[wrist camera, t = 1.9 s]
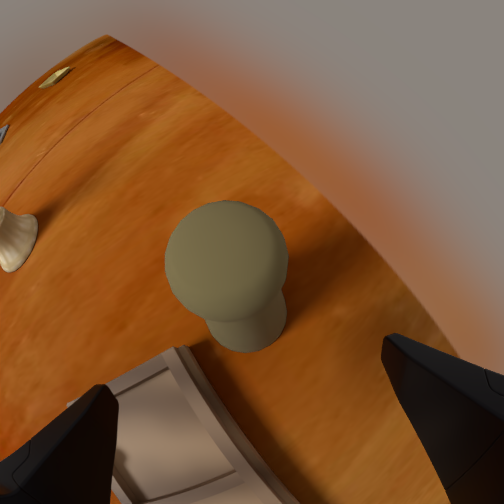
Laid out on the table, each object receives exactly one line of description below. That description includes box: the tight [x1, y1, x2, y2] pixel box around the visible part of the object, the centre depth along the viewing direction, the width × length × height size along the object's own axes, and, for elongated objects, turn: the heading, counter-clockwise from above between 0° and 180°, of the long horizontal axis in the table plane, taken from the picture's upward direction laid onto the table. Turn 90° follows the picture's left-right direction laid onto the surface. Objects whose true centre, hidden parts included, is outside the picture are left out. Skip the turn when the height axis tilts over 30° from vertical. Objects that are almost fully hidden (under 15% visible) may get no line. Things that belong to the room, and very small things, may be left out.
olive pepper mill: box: [165, 200, 289, 353], centre depth 15 cm, size 6×6×11 cm
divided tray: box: [67, 345, 300, 504], centre depth 13 cm, size 20×12×3 cm, turn 33°
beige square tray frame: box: [39, 67, 70, 88], centre depth 52 cm, size 9×9×2 cm
